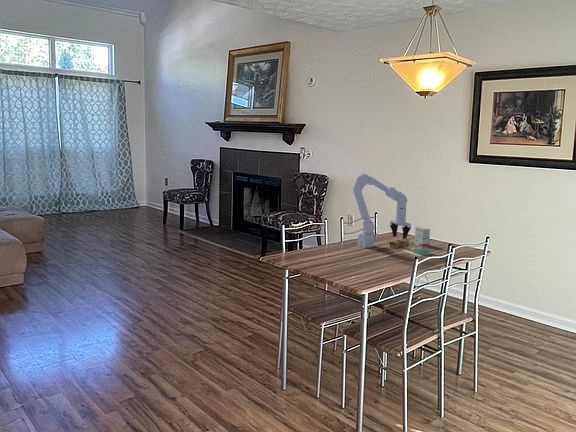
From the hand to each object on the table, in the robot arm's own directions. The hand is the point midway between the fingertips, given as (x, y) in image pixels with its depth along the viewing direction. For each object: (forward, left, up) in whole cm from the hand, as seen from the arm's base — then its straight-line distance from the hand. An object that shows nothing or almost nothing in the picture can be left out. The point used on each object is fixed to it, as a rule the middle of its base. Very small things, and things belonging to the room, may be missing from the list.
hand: (399, 237), depth 297 cm
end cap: (0, -16, -6) cm, 17 cm away
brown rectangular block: (0, 0, -6) cm, 6 cm away
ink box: (+17, -3, -7) cm, 19 cm away
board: (0, -8, -7) cm, 11 cm away
